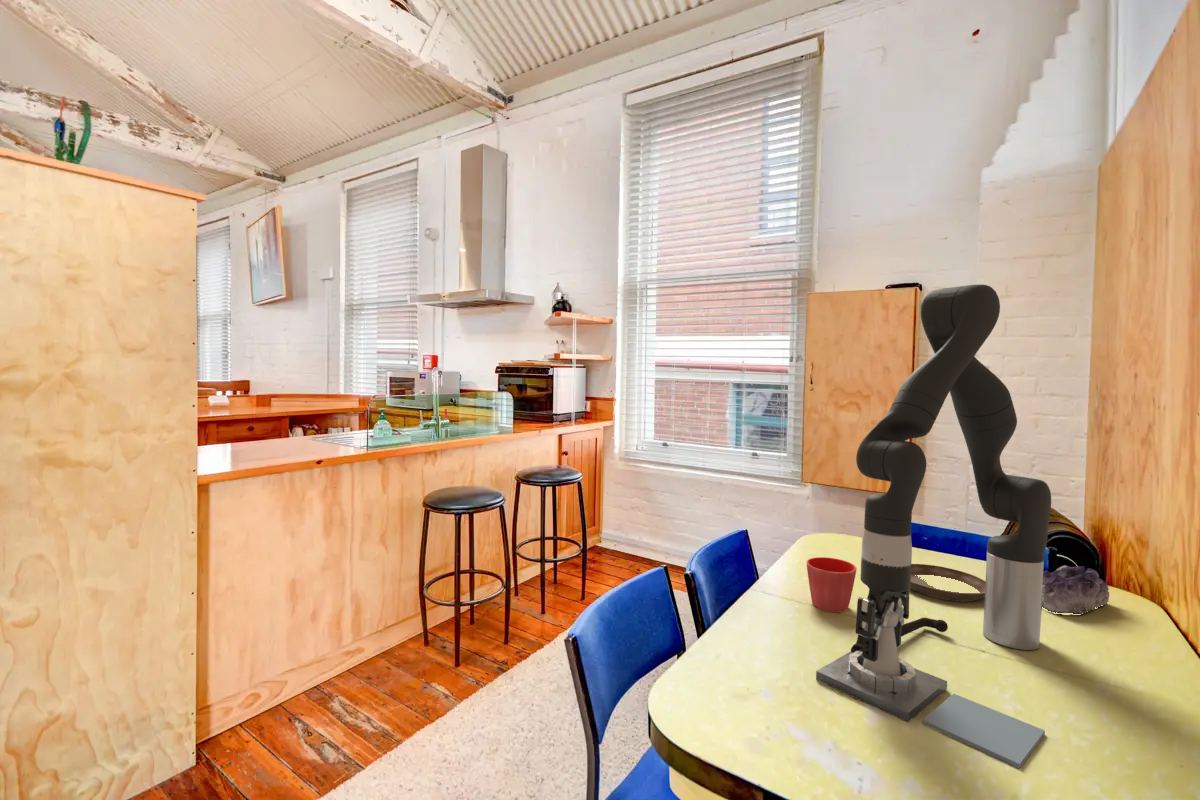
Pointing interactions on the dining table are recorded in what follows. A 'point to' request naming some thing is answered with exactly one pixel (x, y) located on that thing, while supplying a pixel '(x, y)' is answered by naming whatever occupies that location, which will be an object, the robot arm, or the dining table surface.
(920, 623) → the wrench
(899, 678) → the eye plate
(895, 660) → the salt shaker
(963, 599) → the plant saucer
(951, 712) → the rubber mat
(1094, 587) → the geode
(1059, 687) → the dining table surface
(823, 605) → the flower pot
